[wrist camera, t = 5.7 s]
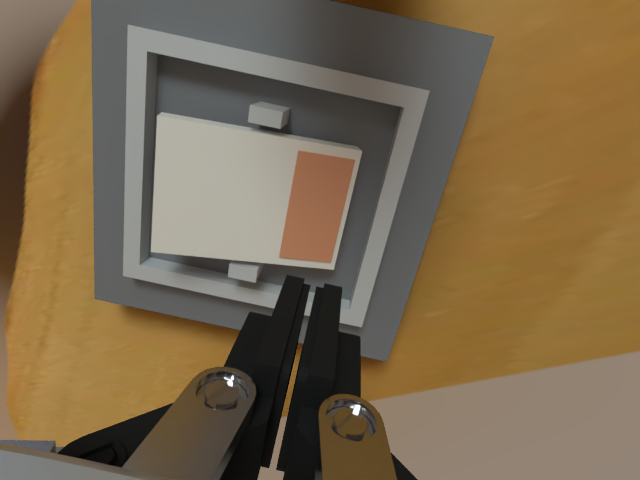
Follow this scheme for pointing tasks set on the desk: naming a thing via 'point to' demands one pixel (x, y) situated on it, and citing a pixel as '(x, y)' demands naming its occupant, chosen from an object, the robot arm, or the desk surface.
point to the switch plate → (283, 117)
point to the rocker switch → (249, 193)
